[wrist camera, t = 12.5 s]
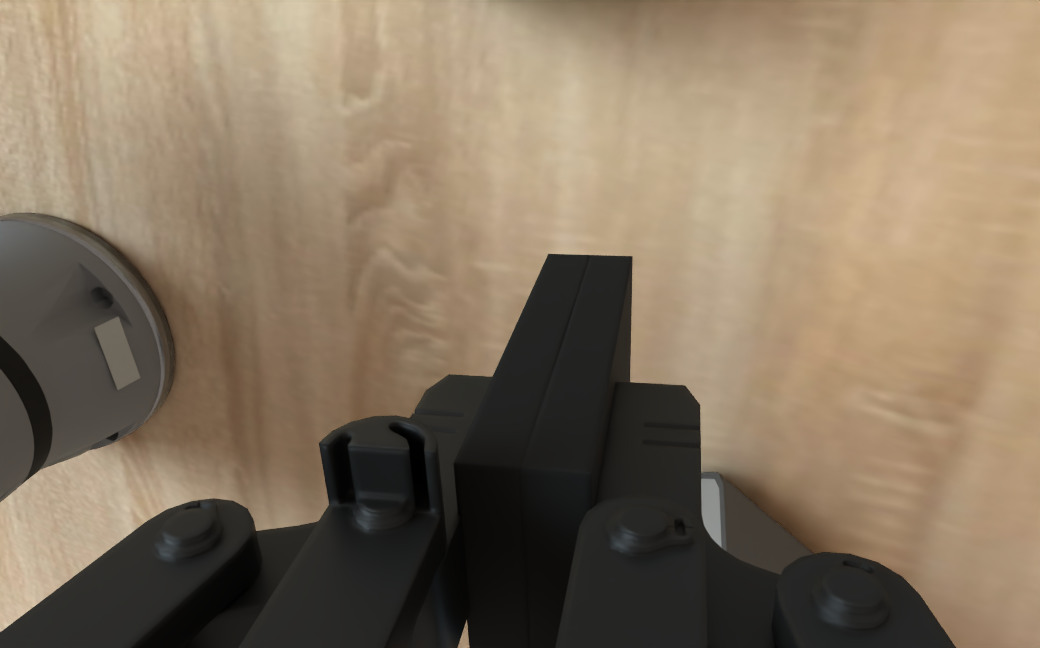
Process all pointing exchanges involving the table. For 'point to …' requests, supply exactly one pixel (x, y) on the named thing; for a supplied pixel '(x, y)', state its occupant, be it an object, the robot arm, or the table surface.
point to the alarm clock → (745, 527)
